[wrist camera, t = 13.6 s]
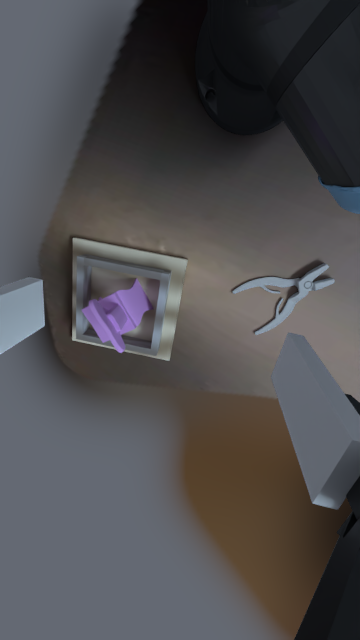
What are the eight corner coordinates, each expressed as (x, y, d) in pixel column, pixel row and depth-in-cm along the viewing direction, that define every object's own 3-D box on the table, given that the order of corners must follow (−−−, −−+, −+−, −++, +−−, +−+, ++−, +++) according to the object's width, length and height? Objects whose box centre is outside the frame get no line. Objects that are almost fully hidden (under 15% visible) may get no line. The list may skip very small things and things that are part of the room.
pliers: (232, 292, 43) (320, 245, 39) (231, 289, 45) (316, 244, 40) (257, 337, 46) (342, 299, 41) (255, 334, 47) (338, 296, 43)
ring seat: (75, 237, 44) (63, 239, 40) (187, 259, 43) (185, 262, 40) (74, 338, 52) (64, 347, 48) (169, 358, 51) (166, 369, 47)
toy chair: (94, 293, 47) (44, 325, 33) (133, 273, 44) (98, 297, 30) (117, 331, 49) (80, 375, 35) (156, 313, 47) (133, 353, 33)
